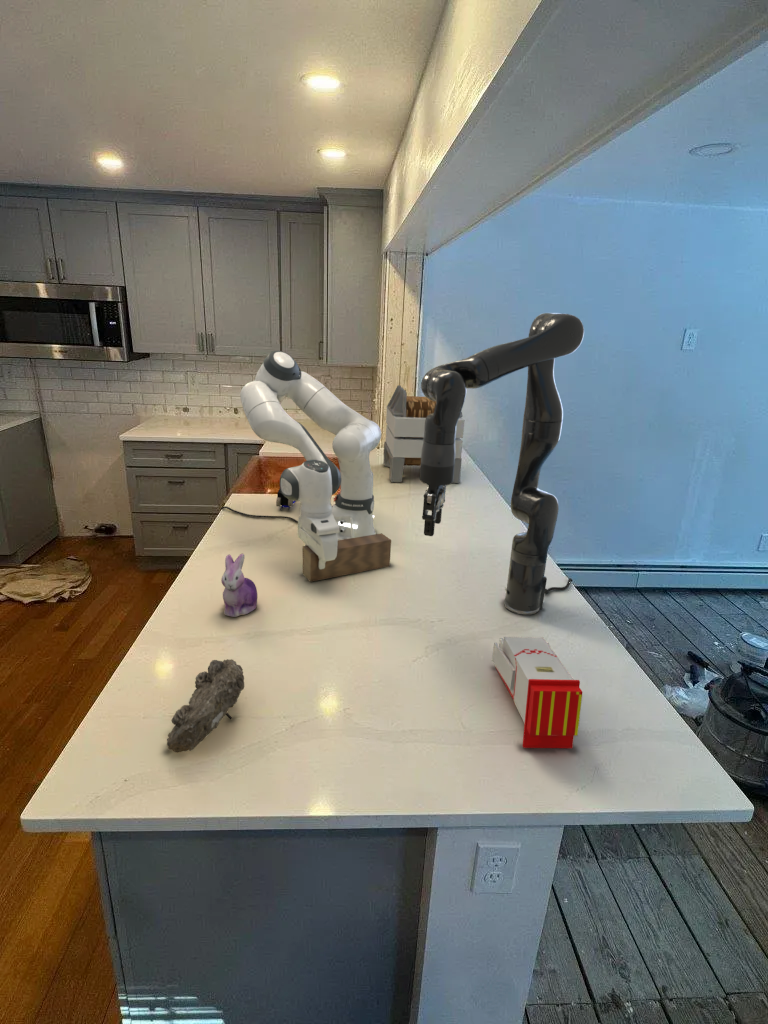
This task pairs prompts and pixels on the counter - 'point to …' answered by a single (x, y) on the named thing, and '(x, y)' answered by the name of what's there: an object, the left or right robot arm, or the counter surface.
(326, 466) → the left robot arm
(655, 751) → the counter surface
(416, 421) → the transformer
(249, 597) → the figurine
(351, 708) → the counter surface
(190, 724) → the fossil
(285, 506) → the figurine character
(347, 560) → the box
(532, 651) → the toy
